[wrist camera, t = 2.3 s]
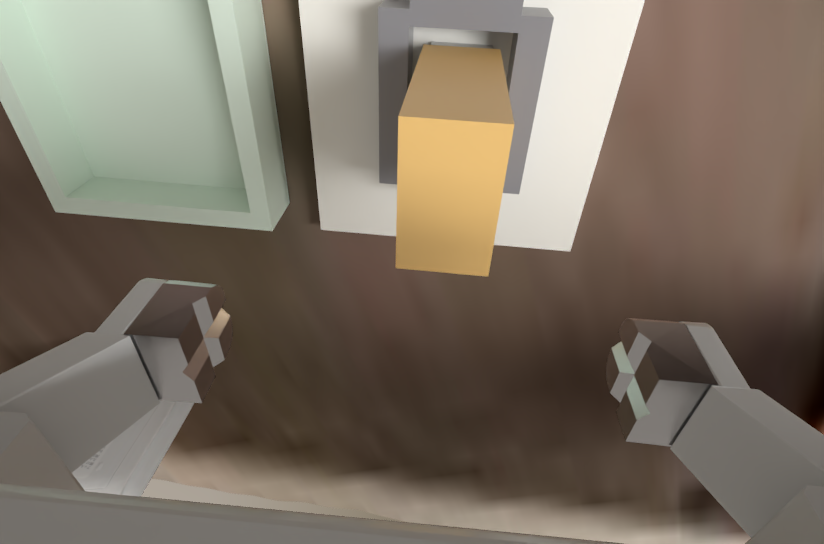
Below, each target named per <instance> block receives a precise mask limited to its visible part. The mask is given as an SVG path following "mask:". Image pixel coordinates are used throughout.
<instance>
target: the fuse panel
mask: <svg viewBox="0 0 824 544" xmlns="http://www.w3.org/2000/svg"><path fill="white" fill-rule="evenodd" d="M298 1H299V11H300V22H301V32H302V42H303V52H304V62H305V72H306V83H307V93H308V103H309V113H310V123H311V133H312V143H313V154H314V164H315V174H316V184H317V194H318V204H319V215H320V225H321V230H329V231H341V232H352V233H364V234H375V235H387V236H396V220H397V164H398V116H399V113H400V110H401V107H402V104H403V102H404V99H405V96H406V93H407V90H408V87H409V84H410V82H411V79H412V76H413V73H414V70H415V67H416V65H417V62H418V59H419V56H420V53H421V50H422V48H423V45H424V44H426V45H431V42H432V41H434V42H450V43H466V44H482V45H493V49H500V50H501V55H502V60H503V66H504V71H505V77H506V82H507V87H508V93H509V98H510V103H511V109H512V114H513V119H514V130H513V136H512V142H511V147H510V153H509V159H508V165H507V170H506V176H505V182H504V188H503V194H502V199H501V205H500V211H499V217H498V223H497V228H496V234H495V240H494V245H502V246H514V247H525V248H537V249H548V250H560V251H570V250H571V247H572V244H573V240H574V237H575V234H576V230H577V227H578V224H579V220H580V217H581V213H582V210H583V207H584V203H585V200H586V197H587V193H588V190H589V186H590V183H591V180H592V176H593V173H594V170H595V166H596V163H597V160H598V156H599V153H600V149H601V146H602V143H603V139H604V136H605V133H606V129H607V126H608V122H609V119H610V116H611V112H612V109H613V106H614V102H615V99H616V96H617V92H618V89H619V85H620V82H621V79H622V75H623V72H624V69H625V65H626V62H627V58H628V55H629V52H630V48H631V45H632V42H633V38H634V35H635V32H636V28H637V25H638V21H639V18H640V15H641V11H642V8H643V5H644V1H645V0H298Z"/></svg>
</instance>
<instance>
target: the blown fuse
mask: <svg viewBox="0 0 824 544" xmlns="http://www.w3.org/2000/svg"><path fill="white" fill-rule="evenodd" d="M513 130H514V119H513V114H512V109H511V103H510V98H509V93H508V87H507V82H506V77H505V71H504V66H503V60H502V55H501V50H500V49H493V45H482V44H466V43H450V42H434V41H432V42H431V45H426V44H424V45H423V48H422V50H421V53H420V56H419V59H418V62H417V65H416V67H415V70H414V73H413V76H412V79H411V82H410V84H409V87H408V90H407V93H406V96H405V99H404V102H403V104H402V107H401V110H400V113H399V116H398V164H397V220H396V268H399V269H410V270H421V271H432V272H443V273H454V274H465V275H476V276H487V277H488V275H489V269H490V263H491V257H492V252H493V246H494V240H495V234H496V228H497V223H498V217H499V211H500V205H501V199H502V194H503V188H504V182H505V176H506V170H507V165H508V159H509V153H510V147H511V142H512V136H513Z"/></svg>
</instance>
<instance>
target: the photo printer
mask: <svg viewBox="0 0 824 544" xmlns="http://www.w3.org/2000/svg"><path fill="white" fill-rule="evenodd" d="M193 405H194V403H191V402H175V401H160V403H159V404H158V405H157V406H155V407H154V408H153V409H152V410H150V411H149V412H148V413H147V414H145V415H144V416H143V417H142V418H140V419H139V420H138V421H136V422H135V423H134V424H133V425H131V426H130V427H129V428H128V429H126V430H125V431H124V432H123V433H121V434H120V435H119V436H118V437H116V438H115V439H114V440H113V441H111V442H110V443H109V444H107V445H106V446H105V447H104V448H102V449H101V450H100V451H99V452H97V453H96V454H95V455H94V456H92V457H91V458H90V459H89V460H87V461H86V462H85V463H84V464H82V465H81V466H80V467H78V468H77V469H76V470H75V471H73V472H72V474H73V475H74V477H75V478H76V479H77V481H78V482H79V483H80V485H81V486H82V487H83V489H84V490H85V491H87V492H98V493H108V494H118V495H129V496H139V497H141V495H142V494H143V492H144V490H145V488H146V487H147V485H148V483H149V481H150V480H151V478H152V476H153V475H154V473H155V471H156V469H157V468H158V466H159V464H160V462H161V461H162V459H163V457H164V456H165V454H166V452H167V450H168V449H169V447H170V445H171V443H172V442H173V440H174V438H175V436H176V435H177V433H178V431H179V429H180V428H181V426H182V424H183V422H184V421H185V419H186V417H187V415H188V414H189V412H190V410H191V408H192V406H193Z"/></svg>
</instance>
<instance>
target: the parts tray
mask: <svg viewBox="0 0 824 544" xmlns="http://www.w3.org/2000/svg"><path fill="white" fill-rule="evenodd" d="M0 101H1V103H2V105H3V107H4V109H5V111H6V113H7V115H8V117H9V119H10V121H11V123H12V125H13V127H14V130H15V132H16V134H17V136H18V138H19V140H20V142H21V144H22V146H23V148H24V150H25V152H26V154H27V156H28V158H29V160H30V162H31V164H32V166H33V168H34V170H35V172H36V174H37V176H38V178H39V180H40V182H41V184H42V186H43V188H44V190H45V192H46V194H47V196H48V198H49V200H50V202H51V204H52V206H53V208H54V210H55V212H59V213H71V214H82V215H94V216H105V217H117V218H128V219H140V220H151V221H162V222H174V223H185V224H197V225H208V226H220V227H231V228H242V229H254V230H265V231H273V229H274V228H275V226H276V224H277V223H278V221H279V220H280V218H281V216H282V215H283V213H284V211H285V210H286V208H287V207H288V205H289V203H290V201H289V194H288V187H287V180H286V172H285V165H284V158H283V151H282V144H281V137H280V130H279V123H278V116H277V109H276V101H275V94H274V87H273V80H272V73H271V66H270V59H269V52H268V45H267V38H266V31H265V23H264V16H263V9H262V2H261V0H0Z"/></svg>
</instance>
